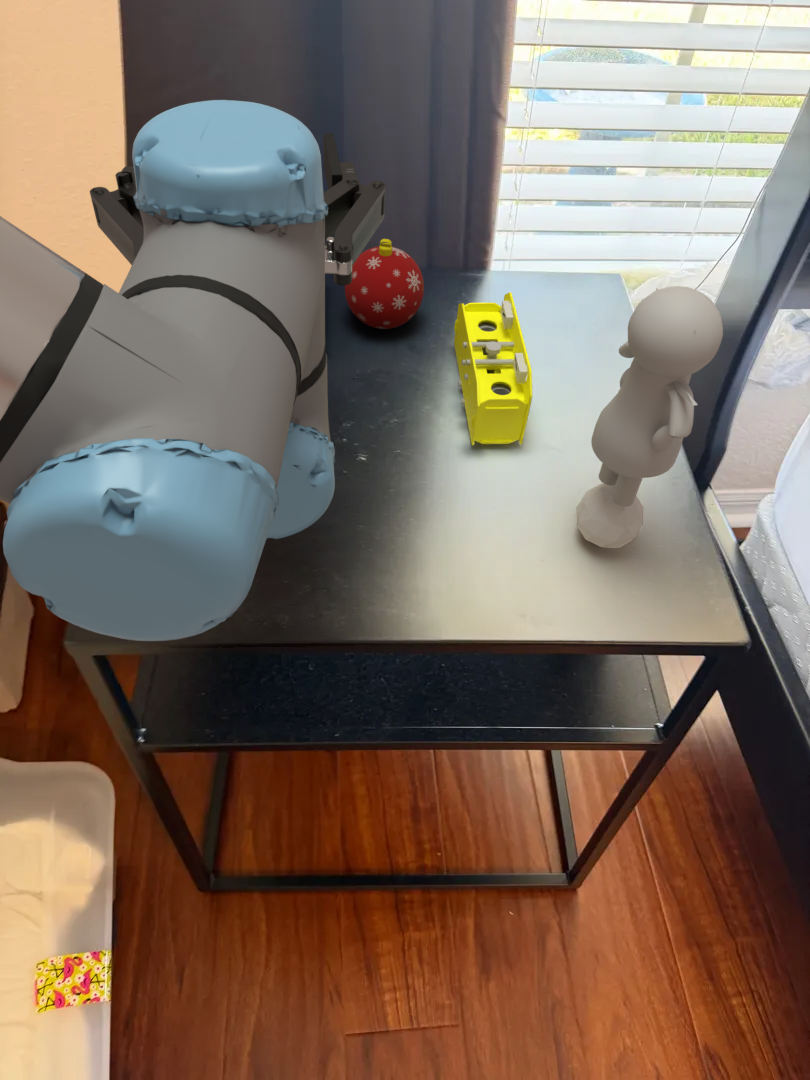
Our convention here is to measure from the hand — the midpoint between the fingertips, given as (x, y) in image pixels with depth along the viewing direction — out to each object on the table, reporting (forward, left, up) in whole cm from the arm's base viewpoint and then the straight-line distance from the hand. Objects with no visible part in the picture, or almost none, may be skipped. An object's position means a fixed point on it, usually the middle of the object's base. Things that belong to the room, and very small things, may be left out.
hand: (239, 151), depth 64 cm
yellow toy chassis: (+22, +2, -26) cm, 34 cm away
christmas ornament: (+12, +15, -26) cm, 32 cm away
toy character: (+30, -18, -26) cm, 44 cm away
